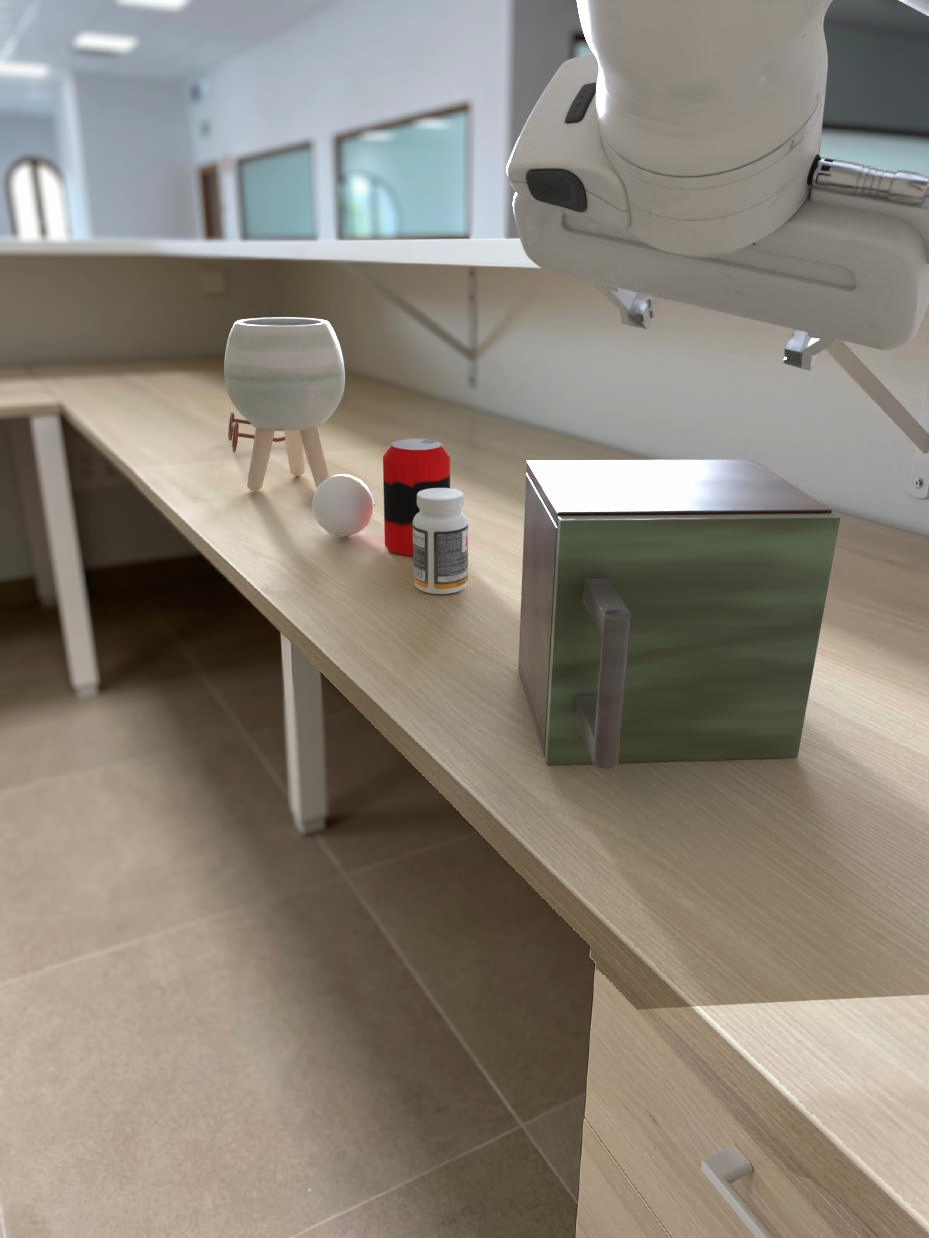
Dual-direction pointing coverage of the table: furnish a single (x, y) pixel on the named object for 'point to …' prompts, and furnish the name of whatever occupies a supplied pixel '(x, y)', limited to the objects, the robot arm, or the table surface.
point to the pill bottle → (440, 542)
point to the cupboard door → (684, 635)
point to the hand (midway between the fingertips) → (718, 336)
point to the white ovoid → (343, 505)
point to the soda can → (410, 486)
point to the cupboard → (623, 494)
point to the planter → (285, 387)
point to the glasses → (234, 432)
